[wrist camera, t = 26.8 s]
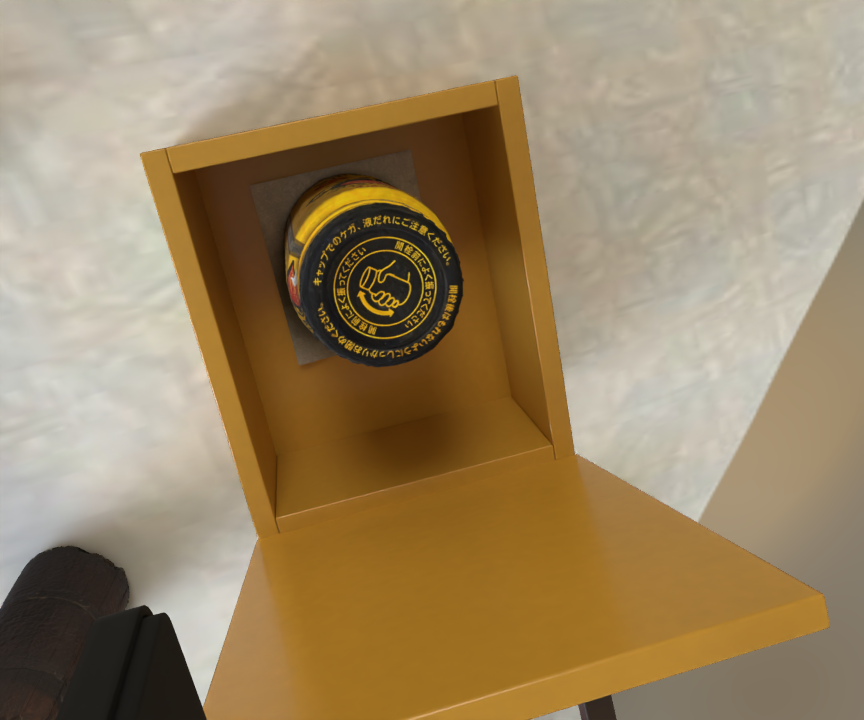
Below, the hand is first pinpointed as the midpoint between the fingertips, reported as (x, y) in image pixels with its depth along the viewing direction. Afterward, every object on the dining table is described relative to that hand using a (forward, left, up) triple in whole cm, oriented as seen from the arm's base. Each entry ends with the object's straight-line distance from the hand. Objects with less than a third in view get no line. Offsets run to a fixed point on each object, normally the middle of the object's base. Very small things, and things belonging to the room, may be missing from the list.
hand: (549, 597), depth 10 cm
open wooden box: (+1, -1, -28) cm, 28 cm away
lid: (+6, -4, -12) cm, 14 cm away
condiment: (0, 0, -28) cm, 28 cm away
